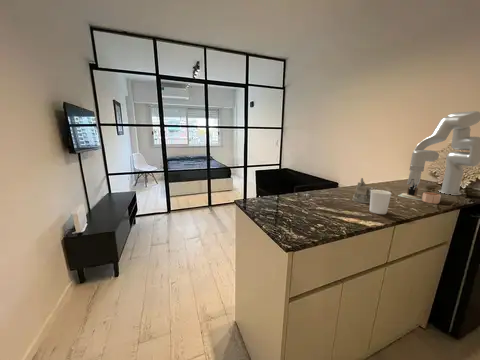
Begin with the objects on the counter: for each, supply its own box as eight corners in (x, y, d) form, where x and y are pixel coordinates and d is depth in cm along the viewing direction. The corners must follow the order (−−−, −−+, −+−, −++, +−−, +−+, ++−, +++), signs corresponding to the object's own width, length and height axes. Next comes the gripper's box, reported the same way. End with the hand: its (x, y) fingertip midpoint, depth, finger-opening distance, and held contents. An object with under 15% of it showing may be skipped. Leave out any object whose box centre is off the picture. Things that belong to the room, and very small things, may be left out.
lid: (404, 193, 154) (405, 185, 153) (423, 196, 146) (425, 188, 144) (399, 195, 148) (401, 187, 146) (419, 199, 139) (421, 191, 138)
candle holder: (385, 216, 112) (388, 195, 110) (365, 211, 120) (368, 191, 117) (390, 212, 119) (393, 192, 116) (371, 207, 126) (373, 188, 123)
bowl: (423, 199, 141) (425, 191, 140) (439, 203, 135) (441, 194, 133) (420, 202, 136) (421, 193, 135) (437, 205, 130) (439, 196, 128)
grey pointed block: (349, 200, 140) (353, 178, 137) (357, 196, 151) (361, 176, 148) (375, 207, 129) (380, 184, 126) (381, 202, 140) (387, 181, 137)
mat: (403, 193, 156) (403, 192, 156) (425, 197, 146) (425, 196, 146) (397, 196, 148) (397, 195, 148) (420, 201, 138) (420, 200, 138)
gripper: (413, 167, 150) (408, 191, 154) (406, 169, 141) (401, 195, 144) (426, 168, 144) (421, 193, 148) (420, 170, 135) (415, 197, 139)
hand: (412, 194), depth 146 cm, fingers closed on lid, 3 cm apart
